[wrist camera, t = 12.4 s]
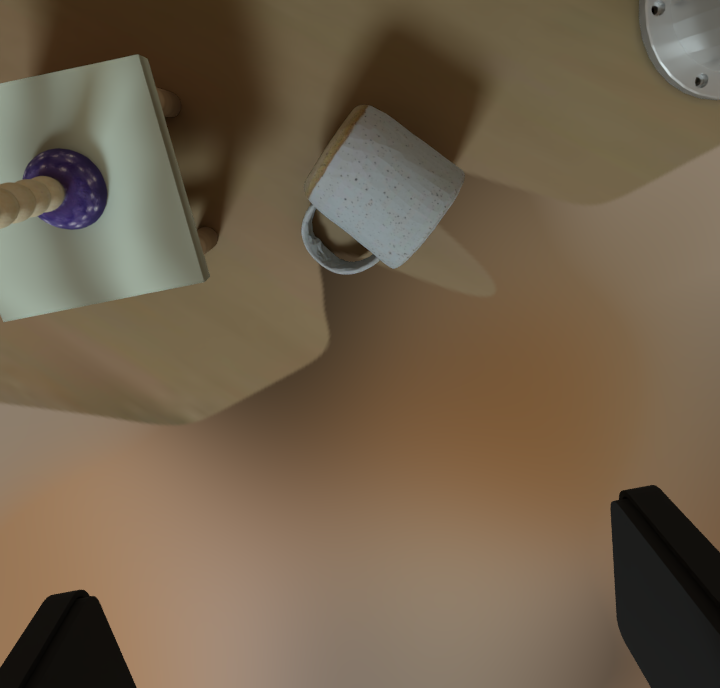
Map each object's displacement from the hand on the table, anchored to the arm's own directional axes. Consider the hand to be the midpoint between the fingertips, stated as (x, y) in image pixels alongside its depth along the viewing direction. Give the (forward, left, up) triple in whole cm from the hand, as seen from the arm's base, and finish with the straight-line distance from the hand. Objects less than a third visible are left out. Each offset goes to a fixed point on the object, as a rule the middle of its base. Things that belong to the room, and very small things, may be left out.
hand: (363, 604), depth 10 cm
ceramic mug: (-2, -4, -34) cm, 34 cm away
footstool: (+14, -8, -33) cm, 37 cm away
